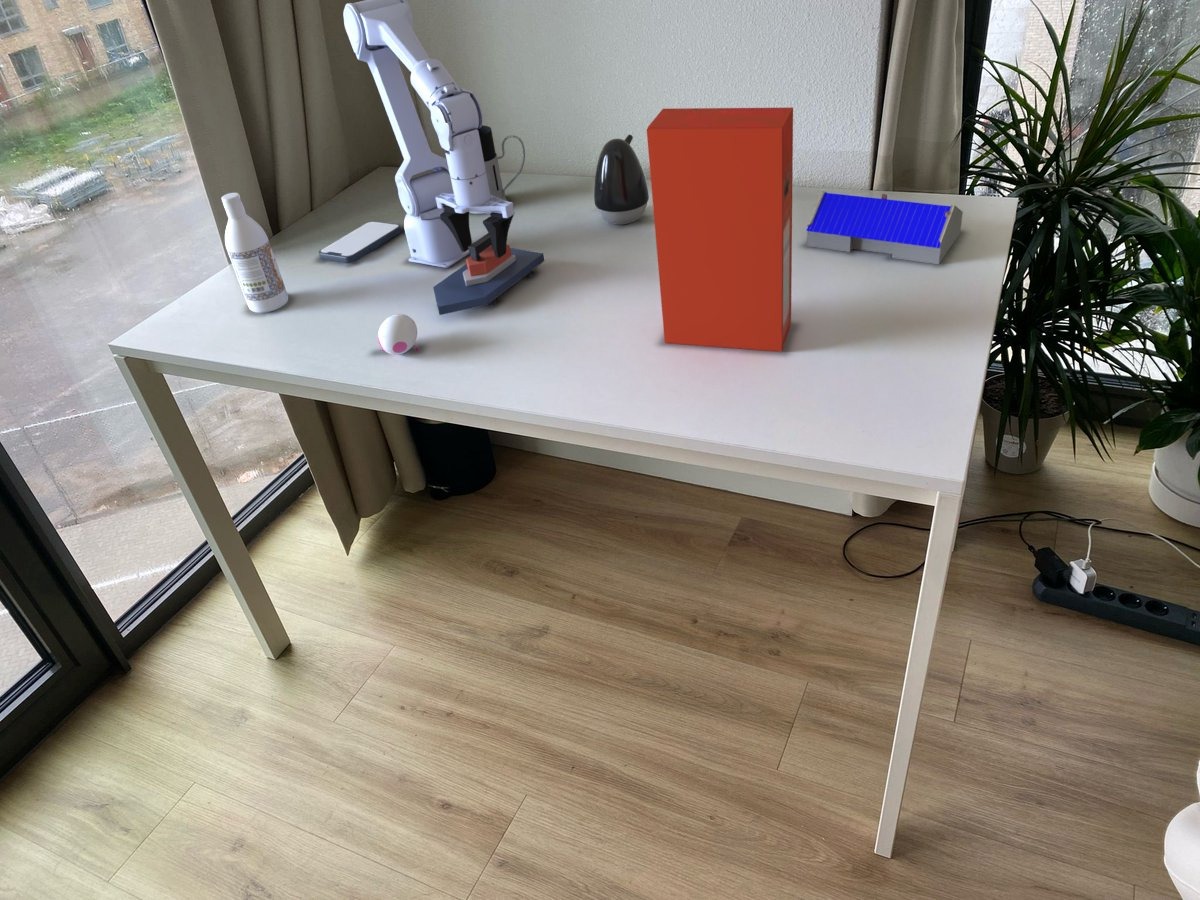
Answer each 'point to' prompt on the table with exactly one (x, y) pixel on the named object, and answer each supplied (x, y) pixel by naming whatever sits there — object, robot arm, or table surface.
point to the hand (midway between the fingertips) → (483, 252)
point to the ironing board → (483, 284)
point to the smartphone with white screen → (360, 242)
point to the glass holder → (494, 162)
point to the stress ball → (397, 334)
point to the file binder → (723, 224)
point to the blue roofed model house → (884, 226)
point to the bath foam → (252, 259)
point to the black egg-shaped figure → (620, 183)
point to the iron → (485, 261)
